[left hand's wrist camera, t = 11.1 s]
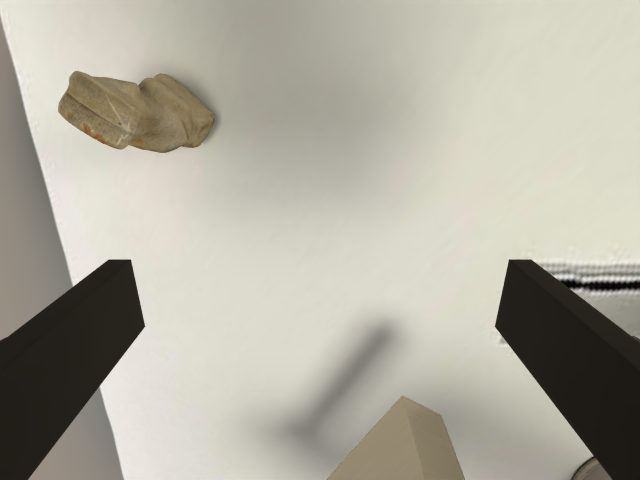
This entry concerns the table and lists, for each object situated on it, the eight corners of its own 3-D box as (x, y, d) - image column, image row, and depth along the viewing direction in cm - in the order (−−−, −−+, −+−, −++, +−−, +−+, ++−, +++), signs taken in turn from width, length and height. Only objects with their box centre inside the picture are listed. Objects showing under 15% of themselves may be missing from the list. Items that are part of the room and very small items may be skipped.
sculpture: (170, 63, 36) (75, 41, 22) (229, 112, 38) (176, 121, 24) (140, 110, 38) (35, 117, 24) (198, 155, 39) (132, 187, 26)
